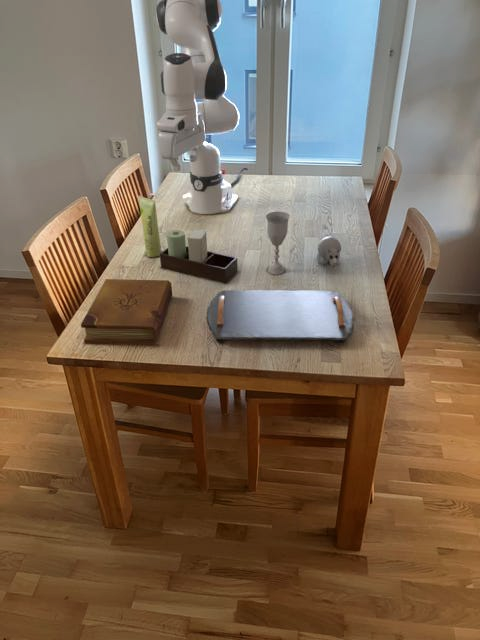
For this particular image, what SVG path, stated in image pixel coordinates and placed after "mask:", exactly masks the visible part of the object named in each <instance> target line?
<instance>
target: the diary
mask: <svg viewBox="0 0 480 640" xmlns="http://www.w3.org/2000/svg"><path fill="white" fill-rule="evenodd" d="M172 298H173V287H172V282H171V281H169V280H167V279H125V278H124V279H123V278H122V279H121V278H105V280H104V282H103V284H102V285H101V287H100V289H99V291H98V293H97V294H96V296H95V298H94V300H93V302H92V303H91V306H90V307H89V309H88V310H87V312H86V314H85V316H84V318H83V320H82V321H81V323H80V328H82V329H85V337H84V339H83V342H84V343H86V344H115V345H116V344H117V345H152V346H154V345H156V344H157V343H158V340H159V337H160V334H161V331H162V328H163V325H164V322H165V320H166V316H167V313H168V310H169V306H170V303H171V300H172Z"/></svg>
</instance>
